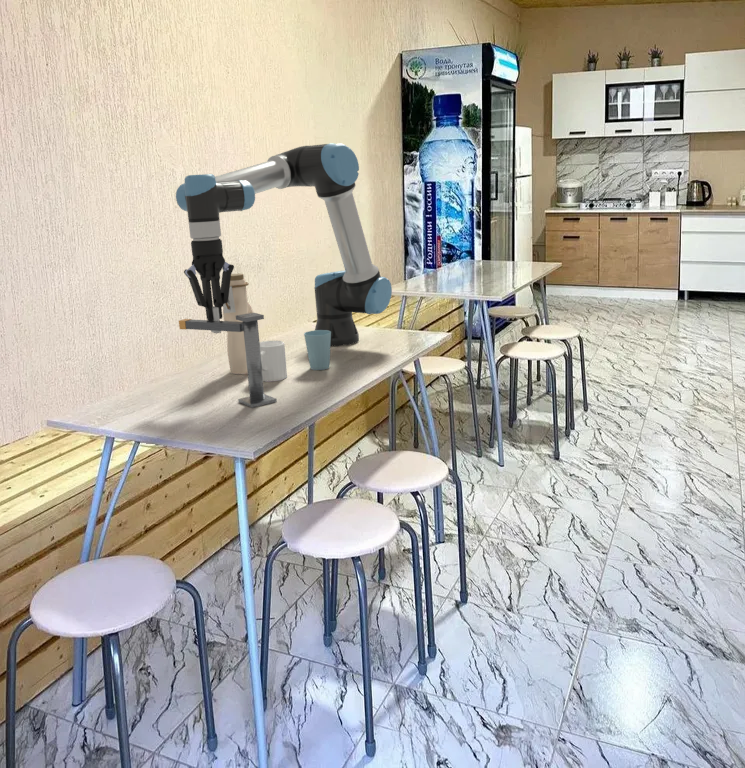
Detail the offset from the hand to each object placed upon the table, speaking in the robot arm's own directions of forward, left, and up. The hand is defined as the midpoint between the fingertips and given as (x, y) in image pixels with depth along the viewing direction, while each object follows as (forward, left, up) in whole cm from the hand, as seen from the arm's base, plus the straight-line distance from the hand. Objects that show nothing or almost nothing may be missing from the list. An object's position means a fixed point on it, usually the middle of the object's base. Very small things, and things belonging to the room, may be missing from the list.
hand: (216, 332), depth 200 cm
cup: (-33, -5, -17) cm, 38 cm away
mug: (-16, -4, -17) cm, 24 cm away
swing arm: (+2, +3, +1) cm, 4 cm away
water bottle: (-15, -18, -17) cm, 29 cm away
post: (-3, +13, -17) cm, 21 cm away
